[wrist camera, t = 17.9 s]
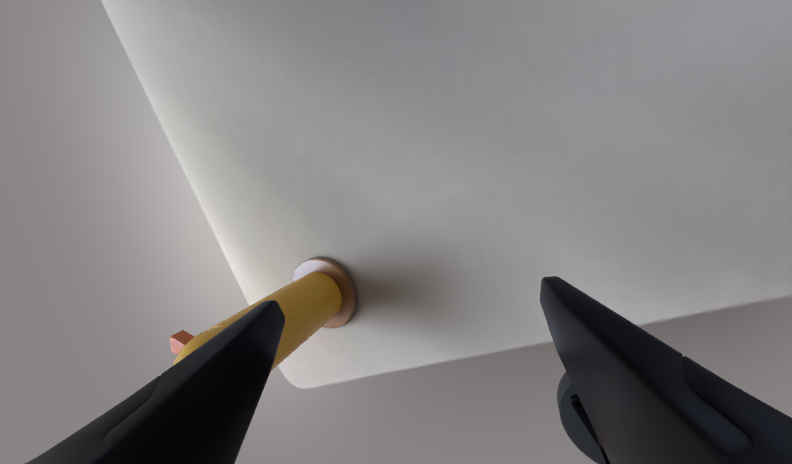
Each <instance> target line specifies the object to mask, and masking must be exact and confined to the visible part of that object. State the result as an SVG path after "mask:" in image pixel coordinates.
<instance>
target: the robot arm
mask: <svg viewBox="0 0 792 464" xmlns="http://www.w3.org/2000/svg"><path fill="white" fill-rule="evenodd" d="M540 302H541V306H542V309H543V312H544V315H545V318H546V320H547V323H548V326H549V329H550V332H551V335H552V338H553V341H554V344H555V346H556V349H557V351H558V354H559V356H560V358H561V361H562V362H563V365H564V367H565V369H566V371H567V373H568V375H569V377H570V379H571V382H572V384H573V386H574V388H575V390H576V392H577V394H574V395H572V396H571V397H570V400H571V404H572V406H573V408H574V409H575V411H576V413H577V414H578V416H579V417H580V419H581V420H582V422H583V424H584V425H585V427H586V428H587V430H588V431H589V433H590V435H591V436H592V438H593V439H594V441H595V442H596V444H597V445H598V447H599V449H600V450H601V452H602V454H603V457H604V461H605V464H792V418H791V417H789V416H787V415H785V414H783V413H781V412H780V411H778V410H776V409H774V408H773V407H771V406H769V405H767V404H766V403H764V402H762V401H760V400H758V399H757V398H755V397H753V396H751V395H749V394H748V393H746V392H744V391H743V390H741V389H739V388H737V387H735V386H734V385H732V384H730V383H729V382H727V381H725V380H724V379H722V378H720V377H719V376H717V375H716V374H714V373H712V372H710V371H709V370H707V369H705V368H704V367H702V366H701V365H699V364H697V363H696V362H694V361H692V360H691V359H689V358H688V357H686V356H684V357H683V355H682V354H681V353H679V352H678V351H676V350H675V349H673V348H672V347H670V346H668V345H667V344H665V343H663V342H662V341H660V340H659V339H657V338H655V337H654V336H652V335H650V334H648V333H647V332H646V331H644V330H643V329H641V328H639V327H638V326H636V325H635V324H633V323H631V322H630V321H628V320H627V319H625V318H623V317H622V316H620V315H619V314H617V313H615V312H614V311H612V310H610V309H609V308H607V307H606V306H604V305H602V304H601V303H599V302H598V301H596V300H594V299H593V298H591V297H590V296H588V295H586V294H585V293H583V292H582V291H580V290H578V289H577V288H575V287H574V286H572V285H570V284H569V283H567V282H566V281H564V280H562V279H561V278H559V277H556V276H553V277H544V278H543V279H542V281H541V292H540ZM284 325H285V315H284V313H283V311H282V309H281V308H280V306H279V304H278V302H277V301H276V300H267V301H263V302H262V303H260V304H259V305H258V306H256V307H255V308H253V309H252V310H251V311H249V312H248V313H246V314H245V315H244V316H242V317H241V318H239V319H238V320H237V321H235V322H234V323H232V324H231V325H230V326H228V327H227V328H225V329H224V330H223V331H221V332H220V333H218V334H217V335H216V336H214V337H213V338H211V339H210V340H209V341H207V342H206V343H204V344H203V345H202V346H200V347H199V348H197V349H196V350H195V351H193V352H192V353H190V354H189V355H188V356H186V357H185V358H183V359H182V360H181V361H179V362H178V363H176V364H175V365H174V366H172V367H171V368H169V369H168V370H167V371H165V372H164V373H162V374H161V376H158V377H157V378H155V379H154V380H153V381H151V382H150V383H148V384H147V385H146V386H144V387H143V388H141V389H140V390H138V391H137V392H136V393H134V394H133V395H131V396H130V397H129V398H127V399H126V400H124V401H123V402H121V403H119V404H118V405H116V406H115V407H113V408H112V409H110V410H109V411H107V412H106V413H104V414H103V415H101V416H100V417H98V418H97V419H95V420H94V421H92V422H91V423H89V424H88V425H86V426H85V427H83V428H81V429H80V430H78V431H77V432H75V433H74V434H72V435H71V436H69V437H68V438H66V439H65V440H63V441H62V442H60V443H59V444H57V445H55V446H54V447H52V448H51V449H49V450H48V451H46V452H45V453H43V454H41V455H40V456H38V457H37V458H35V459H33V460H31V461H29V462H27V463H25V464H234V463H235V461H236V458H237V456H238V453H239V450H240V448H241V445H242V443H243V440H244V438H245V435H246V433H247V430H248V427H249V425H250V422H251V420H252V417H253V415H254V412H255V409H256V407H257V404H258V402H259V399H260V397H261V394H262V391H263V389H264V386H265V384H266V381H267V379H268V376H269V374H270V371H271V368H272V366H273V363H274V360H275V357H276V353H277V350H278V346H279V342H280V339H281V335H282V332H283V328H284ZM577 401H580V402H581V403H577Z"/></svg>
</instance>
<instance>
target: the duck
mask: <svg viewBox="0 0 792 464" xmlns="http://www.w3.org/2000/svg"><path fill="white" fill-rule="evenodd" d="M267 300H276V301H277V302H278V304H279V306H280V308H281V309H282V311H283V313H284V315H285V325H284V328H283V332H282V335H281V339H280V342H279V346H278V350H277V353H276V357H275V360H274V363H273V366H272V368H271V370H273V368H275V367H276V366H277V365H278V364H280V363H281V362H282V361H283V360H284V359H285V358H286V357H288V356H289V355H290V354H291V353H292V352H293V351H294V350H296V349H297V348H298V347H299V346H300V345H301V344H302V343H304V342H305V341H306V340H307V339H308V338H309V337H310V336H312V335H313V334H314V333H315V332H316V331H317V330H318V329H320V328H321V327H322V326H323V325H324V324H325V323H326V322H328V321H329V320H330V319H331V318H332V317H333V316H334V315H336V314H337V313H338V311H339V310H340V307H341V303H342V297H341V293H340V290H339V288H338V286H337V284H336V283H335V282H334V280H333V279H332V278H330V277H329V276H328V275H326V274H324V273H321V272H311V273H309V274H307V275H305V276H303V277H301V278H300V279H298V280H296V281H294V282H292V283H291V284H289V285H287V286H285V287H283V288H282V289H280V290H278V291H276V292H274V293H273V294H271V295H269V296H267V297H265V298H264V299H262V300H260V301H258V302H256V303H254V304H253V305H251V306H249V307H247V308H246V309H244V310H242V311H240V312H238V313H237V314H235V315H233V316H231V317H229V318H227V319H226V320H224V321H222V322H220V323H219V324H217V325H215V326H213V327H211V328H210V329H209V330H207V331H205V332H203V333H200V334H199V335H197V336H196V337H194V336H192V335H190V334H188V333H187V332H186V331H184V330H182V331H180V332H179V333H176V334H174V335H172V336H171V337H170V339H171V351H172V352H173V353H175V354H176V355H178V356H177V358H176V359H175V362H174V364H173V366H174V365H175V364H176V363H178V362H179V361H181V360H182V359H183V358H185V357H186V356H188V355H189V354H190V353H192V352H193V351H195V350H196V349H197V348H199V347H200V346H202V345H203V344H204V343H206V342H207V341H209V340H210V339H211V338H213V337H214V336H216V335H217V334H218V333H220V332H221V331H223V330H224V329H225V328H227V327H228V326H230V325H231V324H232V323H234V322H235V321H237V320H238V319H239V318H241V317H242V316H244V315H245V314H246V313H248V312H249V311H251V310H252V309H253V308H255V307H256V306H258V305H259V304H260V303H262V302H263V301H267Z"/></svg>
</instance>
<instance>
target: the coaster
mask: <svg viewBox="0 0 792 464" xmlns="http://www.w3.org/2000/svg"><path fill="white" fill-rule="evenodd" d="M311 272H321V273H324V274H326V275H328V276H329V277H330V278H332V279H333V280H334V282H335V283H336V284H337V286H338V288H339V290H340V293H341V297H342V303H341V307H340V310H339V311H338V313H337V314H336V315H334V316H333V317H332V318H331V319H330V320H329V321H328V322H326V323H325V324H324V325H323V326H322V327H324V328H337V327H340V326H342V325H344V324H345V323H346V322H347V321H348V320H349V319H350V318H351V317H352V316H353V314H354V312H355V309H356V304H357V296H356V290H355V287H354V284H353V282H352V280H351V278H350V277H349V275H348V274H347V272H346V271H345V270H344V269H343V268H342V267H341V266H339V265H338V264H337V263H335V262H333V261H331V260H329V259H326V258H320V257H318V258H311V259H308V260H306V261H304V262H303V263H301V264H300V265H299V266H298V267H297V268H296V270H295V272H294V274H293V277H292V282H294V281H296V280H298V279H300V278H301V277H303V276H305V275H307V274H309V273H311Z"/></svg>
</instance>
